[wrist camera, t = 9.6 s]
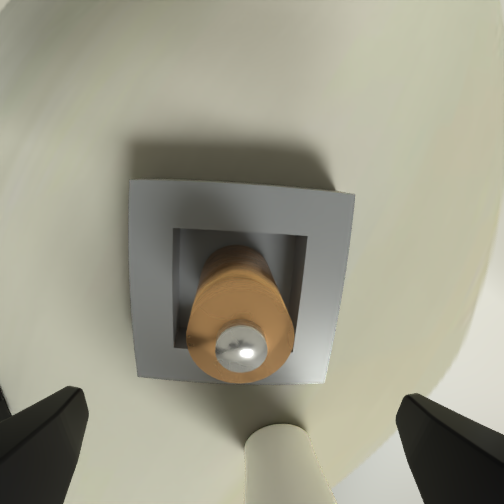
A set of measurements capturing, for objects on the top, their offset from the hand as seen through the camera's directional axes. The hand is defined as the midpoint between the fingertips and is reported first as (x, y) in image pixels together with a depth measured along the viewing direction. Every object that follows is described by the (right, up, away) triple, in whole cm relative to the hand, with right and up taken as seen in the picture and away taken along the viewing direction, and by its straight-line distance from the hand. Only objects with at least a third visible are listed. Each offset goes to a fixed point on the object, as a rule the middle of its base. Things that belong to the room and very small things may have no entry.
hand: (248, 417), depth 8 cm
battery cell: (-1, +3, +11) cm, 11 cm away
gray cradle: (-1, +3, +11) cm, 12 cm away
